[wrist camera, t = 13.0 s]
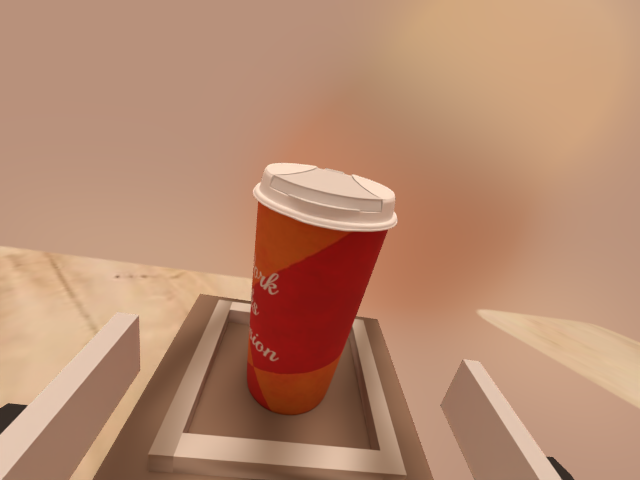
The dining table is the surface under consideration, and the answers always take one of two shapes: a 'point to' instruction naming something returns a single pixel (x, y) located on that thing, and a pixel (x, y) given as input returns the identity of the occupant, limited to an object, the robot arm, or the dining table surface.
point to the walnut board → (264, 413)
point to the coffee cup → (309, 278)
